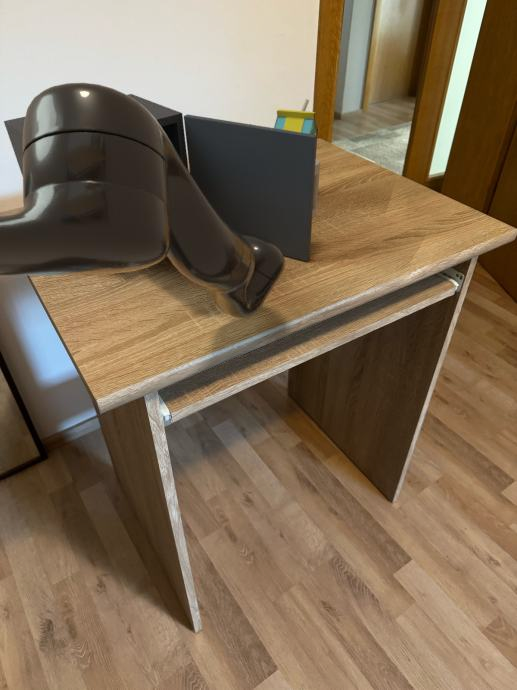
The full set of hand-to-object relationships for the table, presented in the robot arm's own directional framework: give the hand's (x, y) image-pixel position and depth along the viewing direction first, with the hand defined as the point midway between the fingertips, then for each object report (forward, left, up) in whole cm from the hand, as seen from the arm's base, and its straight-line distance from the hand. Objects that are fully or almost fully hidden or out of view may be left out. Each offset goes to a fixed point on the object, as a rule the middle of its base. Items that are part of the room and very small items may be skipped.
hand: (122, 198), depth 81 cm
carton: (+33, +10, -9) cm, 36 cm away
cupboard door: (+22, -4, -8) cm, 24 cm away
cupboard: (-2, +4, -9) cm, 9 cm away
